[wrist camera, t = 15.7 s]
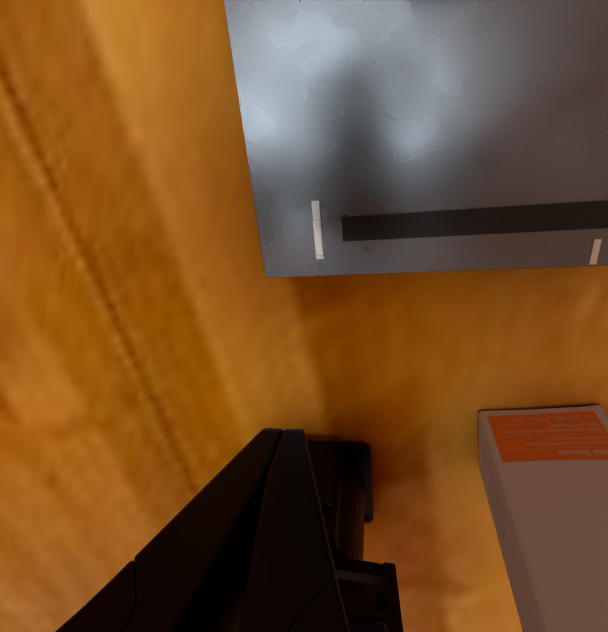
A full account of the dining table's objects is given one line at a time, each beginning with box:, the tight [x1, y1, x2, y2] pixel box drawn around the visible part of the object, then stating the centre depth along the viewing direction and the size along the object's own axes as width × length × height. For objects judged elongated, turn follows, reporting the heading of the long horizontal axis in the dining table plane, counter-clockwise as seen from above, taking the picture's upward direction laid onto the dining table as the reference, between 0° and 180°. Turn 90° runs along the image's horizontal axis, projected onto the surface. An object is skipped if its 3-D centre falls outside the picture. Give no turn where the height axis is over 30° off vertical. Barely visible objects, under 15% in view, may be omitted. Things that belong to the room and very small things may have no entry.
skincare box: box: [478, 405, 608, 632], centre depth 18 cm, size 6×4×12 cm
